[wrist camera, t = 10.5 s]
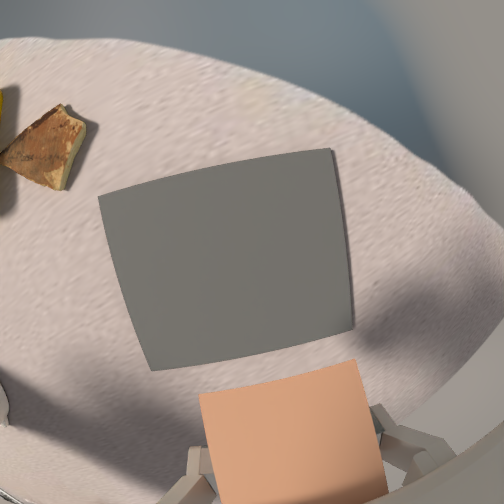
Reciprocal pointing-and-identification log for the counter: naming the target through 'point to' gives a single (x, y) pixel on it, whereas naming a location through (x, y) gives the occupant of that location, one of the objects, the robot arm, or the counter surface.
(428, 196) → the counter surface
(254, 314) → the charcoal mat
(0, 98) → the element tile
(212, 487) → the robot arm
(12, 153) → the shard
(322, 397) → the terracotta block
